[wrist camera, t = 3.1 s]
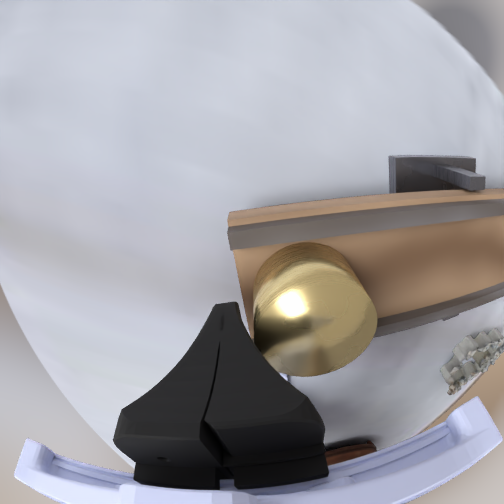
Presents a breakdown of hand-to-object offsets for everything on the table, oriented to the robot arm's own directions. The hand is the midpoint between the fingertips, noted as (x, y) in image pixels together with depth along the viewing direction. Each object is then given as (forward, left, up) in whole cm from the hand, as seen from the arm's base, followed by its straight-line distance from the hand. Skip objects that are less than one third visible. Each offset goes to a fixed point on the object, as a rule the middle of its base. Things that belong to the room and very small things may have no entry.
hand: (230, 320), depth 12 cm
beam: (0, -15, -2) cm, 15 cm away
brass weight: (0, -4, -2) cm, 4 cm away
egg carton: (-19, -28, -6) cm, 34 cm away
